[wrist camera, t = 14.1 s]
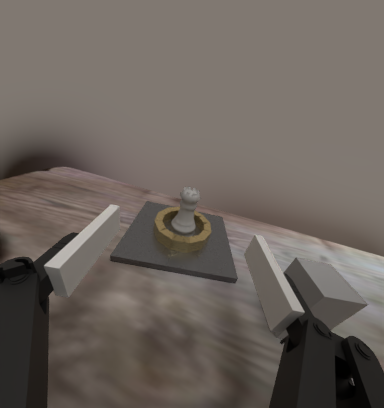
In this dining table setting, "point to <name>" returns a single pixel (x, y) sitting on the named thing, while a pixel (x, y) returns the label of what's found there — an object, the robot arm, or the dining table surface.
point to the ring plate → (177, 245)
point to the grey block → (324, 292)
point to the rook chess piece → (186, 213)
